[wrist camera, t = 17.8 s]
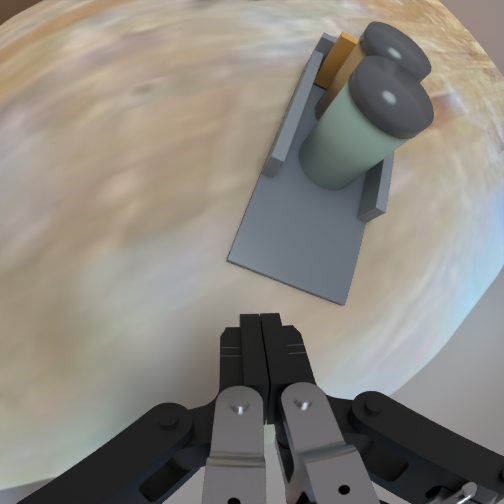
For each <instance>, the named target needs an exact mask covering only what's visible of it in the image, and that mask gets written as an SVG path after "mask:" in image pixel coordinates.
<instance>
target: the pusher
mask: <svg viewBox="0 0 504 504" xmlns="http://www.w3.org/2000/svg"><path fill="white" fill-rule="evenodd" d="M360 37H361V36H360ZM358 42H359V40H358V39H356V38H354V37H352V36H350V35H349V34H347V33H345V32H342V33H341V35H340V37H339V38H338V40H337V41H336V43H335V45H334V46H333V48H332V49H331V51H330V53H329V54H328V56H327V58H326V59H325V61H324V62H323V64H322V66H321V67H320V69H319V71H318V72H317V74H316V77H315V79H314V83H316V84H318V85H320V86H322V87H324V88H326V89H327V87H328V86H329V84H330V83H331V81H332V80H333V78H334V77H335V75H336V74H337V72H338V71H339V69H340V68H341V66H342V65H343V63H344V62H345V61H346V59H347V58H348V56H349V55H350V53H351V52H352V50H353V49H354V47H355V46H356V45H357V43H358Z"/></svg>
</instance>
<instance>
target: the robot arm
mask: <svg viewBox="0 0 504 504" xmlns="http://www.w3.org/2000/svg"><path fill="white" fill-rule="evenodd" d="M266 420H267V424H274V426H275V432H276V434H275V446H276V450H277V455H278V459H279V463H280V467H281V471H282V475H283V479H284V484H285V494H286V503H287V504H389V503H386V502H384V501H382V500H379V499H378V497H377V495H376V492H375V490H374V487H373V485H372V483H371V481H373V482H375V483H376V484H378V485H379V486H381V487H383V488H384V489H386V490H388V491H389V492H391V493H393V494H395V495H397V496H398V497H400V498H402V499H404V500H406V501H408V502H409V503H411V504H497V503H498V502H499V501H500V500H502V499H504V456H502V455H500V454H497V453H495V452H493V451H491V450H489V449H487V448H485V447H483V446H481V445H479V444H476V443H474V442H472V441H470V440H468V439H466V438H464V437H462V436H460V435H458V434H456V433H454V432H452V431H450V430H449V429H447V428H445V427H443V426H441V425H439V424H437V423H435V422H433V421H431V420H429V419H428V418H426V417H424V416H422V415H420V414H418V413H416V412H415V411H413V410H411V409H409V408H407V407H405V406H404V405H402V404H400V403H398V402H396V401H395V400H393V399H391V398H389V397H388V396H386V395H384V394H382V393H380V392H376V391H366V392H363V393H361V394H359V395H358V396H356V398H355V399H354V400H348V399H340V398H334V397H331V396H329V395H326V394H325V393H324V392H323V390H322V389H321V388H319V387H318V386H317V385H316V382H315V379H314V376H313V372H312V369H311V366H310V362H309V359H308V356H307V353H306V349H305V346H304V343H303V339H302V336H301V333H300V332H299V331H298V330H297V329H296V328H295V327H294V326H293V325H289V326H282V323H281V319H280V315H279V313H263V314H260V316H259V314H240V327H226V329H225V330H224V332H223V333H222V335H221V337H220V388H219V393H218V395H217V396H216V398H215V399H214V400H213V401H212V402H210V403H209V404H207V405H205V406H202V407H198V408H194V409H190V410H188V409H186V408H185V407H184V406H182V405H180V404H176V403H162V404H159V405H157V406H155V407H153V408H152V409H151V410H149V411H148V412H147V413H145V414H144V415H143V416H142V417H140V418H139V419H138V420H136V421H135V422H134V423H132V424H131V425H130V426H128V427H127V428H126V429H125V430H123V431H122V432H121V433H119V434H118V435H116V436H115V437H114V438H112V439H111V440H110V441H108V442H107V443H106V444H104V445H103V446H101V447H100V448H99V449H97V450H96V451H95V452H93V453H92V454H90V455H89V456H87V457H86V458H85V459H83V460H82V461H80V462H79V463H77V464H76V465H75V466H73V467H72V468H70V469H69V470H67V471H66V472H64V473H63V474H61V475H60V476H58V477H57V478H55V479H54V480H53V481H51V482H50V483H48V484H46V485H45V486H43V487H42V488H40V489H38V490H37V491H35V492H34V493H32V494H31V495H29V496H27V497H26V498H24V499H22V500H21V501H19V502H18V503H17V504H162V503H163V502H164V501H165V500H166V499H168V498H169V497H170V496H171V495H172V494H173V493H174V492H175V491H177V489H179V488H180V487H181V486H182V485H183V484H184V483H185V482H186V481H187V480H189V479H190V477H192V476H193V475H194V474H195V473H196V472H197V471H198V470H199V469H200V467H202V466H206V469H205V477H204V486H203V495H202V504H266V466H265V459H264V428H263V425H265V421H266Z"/></svg>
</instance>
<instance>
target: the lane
mask: <svg viewBox="0 0 504 504" xmlns="http://www.w3.org/2000/svg"><path fill="white" fill-rule="evenodd" d="M337 40H338V39H337V38H335V37H332V36H330V35H328V34H326V33H323V35H322V37H321V38H320V40H319V42H318V44H317V46H316V47H315V49H314V51H313V53H312V55H311V57H310V58H309V60H308V62H307V64H306V66H305V68H304V70H303V72H302V75H301V77H300V79H299V82H298V84H297V87H296V89H295V91H294V94H293V96H292V98H291V101H290V103H289V106H288V108H287V110H286V113H285V115H284V118H283V120H282V123H281V125H280V127H279V130H278V132H277V135H276V137H275V140H274V142H273V144H272V147H271V149H270V152H269V154H268V157H267V159H266V162H265V164H264V167H263V169H262V172H261V174H260V177H259V179H258V182H257V184H256V187H255V189H254V192H253V194H252V197H251V199H250V202H249V204H248V207H247V209H246V212H245V214H244V217H243V220H242V222H241V225H240V227H239V230H238V232H237V235H236V238H235V240H234V243H233V245H232V248H231V250H230V253H229V256H228V258H227V261H228V262H231V263H233V264H236V265H238V266H241V267H243V268H246V269H248V270H251V271H253V272H256V273H259V274H261V275H264V276H266V277H269V278H271V279H274V280H276V281H279V282H282V283H284V284H287V285H289V286H292V287H294V288H297V289H300V290H302V291H305V292H307V293H310V294H313V295H315V296H318V297H320V298H323V299H326V300H328V301H331V302H334V303H336V304H339V305H345V303H346V299H347V296H348V292H349V289H350V285H351V281H352V278H353V274H354V270H355V266H356V262H357V258H358V254H359V250H360V246H361V242H362V238H363V233H364V229H365V224H366V222H368V221H370V220H372V219H374V218H376V217H378V216H380V215H382V214H384V213H386V207H387V201H388V195H389V188H390V181H391V174H392V167H393V159H394V151H393V152H392V153H390V154H389V155H388V156H386V157H385V158H384V159H383V160H381V161H380V162H379V163H377V164H376V165H375V166H373V167H372V168H371V169H369V170H368V171H367V172H366V173H364V174H363V175H362V176H360V177H359V178H358V179H356V180H355V181H354V182H352V183H351V184H350V185H349V186H347V187H346V188H344V189H341V190H327V189H324V188H322V187H320V186H318V185H316V184H315V183H313V182H312V181H311V180H310V179H309V178H308V177H307V176H306V174H305V173H304V171H303V170H302V168H301V165H300V162H299V155H298V154H299V148H300V146H301V144H302V142H303V141H304V140H305V138H306V137H307V136H308V134H309V133H310V131H311V130H312V129H313V127H314V126H315V125H316V123H317V122H318V121H317V119H316V116H315V106H316V104H317V102H318V101H319V99H320V98H321V96H322V95H323V93H324V92H325V90H326V88H324V87H322V86H320V85H318V84H316V83H314V79H315V77H316V74H317V72H318V71H319V69H320V67H321V66H322V64H323V62H324V61H325V59H326V58H327V56H328V54H329V53H330V51H331V49H332V48H333V46H334V45H335V43H336V41H337Z"/></svg>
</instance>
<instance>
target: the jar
mask: <svg viewBox="0 0 504 504" xmlns="http://www.w3.org/2000/svg"><path fill="white" fill-rule="evenodd" d="M433 118H434V112H433V107H432V103H431V101H430V98H429V96H428V95H427V93H426V91H425V90H424V88H423V87H422V85H421V84H420V83H419V82H418V80H417V79H416V78H415V77H414V76H413V75H412V74H411V73H410V72H408V71H407V70H406V69H405V68H403V67H402V66H400V65H399V64H397V63H396V62H394V61H392V60H390V59H387V58H385V57H381V56H375V55H371V56H366V57H364V58H363V59H362V60H361V61H360V63H359V64H358V65H357V67H356V68H355V69H354V71H353V72H352V73H351V75H350V77H349V80H348V81H347V83H346V84H345V85H344V87H343V88H342V89H341V91H340V92H339V93H338V95H337V96H336V97H335V99H334V100H333V101H332V103H331V104H330V106H329V107H328V108H327V110H326V111H325V112H324V114H323V115H322V116H321V118H320V119H319V120H318V122H317V123H316V125H315V126H314V127H313V129H312V130H311V131H310V133H309V134H308V136H307V137H306V138H305V140H304V141H303V142H302V144H301V146H300V148H299V154H298V155H299V162H300V165H301V168H302V170H303V171H304V173H305V174H306V176H307V177H308V178H309V179H310V180H311V181H312V182H313V183H315V184H316V185H318V186H320V187H322V188H324V189H327V190H341V189H344V188H346V187H347V186H349V185H350V184H351V183H352V182H354V181H355V180H356V179H358V178H359V177H360V176H362V175H363V174H364V173H366V172H367V171H368V170H369V169H371V168H372V167H373V166H375V165H376V164H377V163H379V162H380V161H381V160H383V159H384V158H385V157H386V156H388V155H389V154H390V153H392V152H393V151H394V150H396V149H397V148H398V147H399V146H401V145H402V144H403V143H405V142H406V141H407V140H409V139H411V138H414V137H415V136H416V135H418V134H419V133H420V132H422V131H423V130H424V129H426V128H427V127H428V126H429V125H430V124H431V123H432V121H433Z"/></svg>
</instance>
